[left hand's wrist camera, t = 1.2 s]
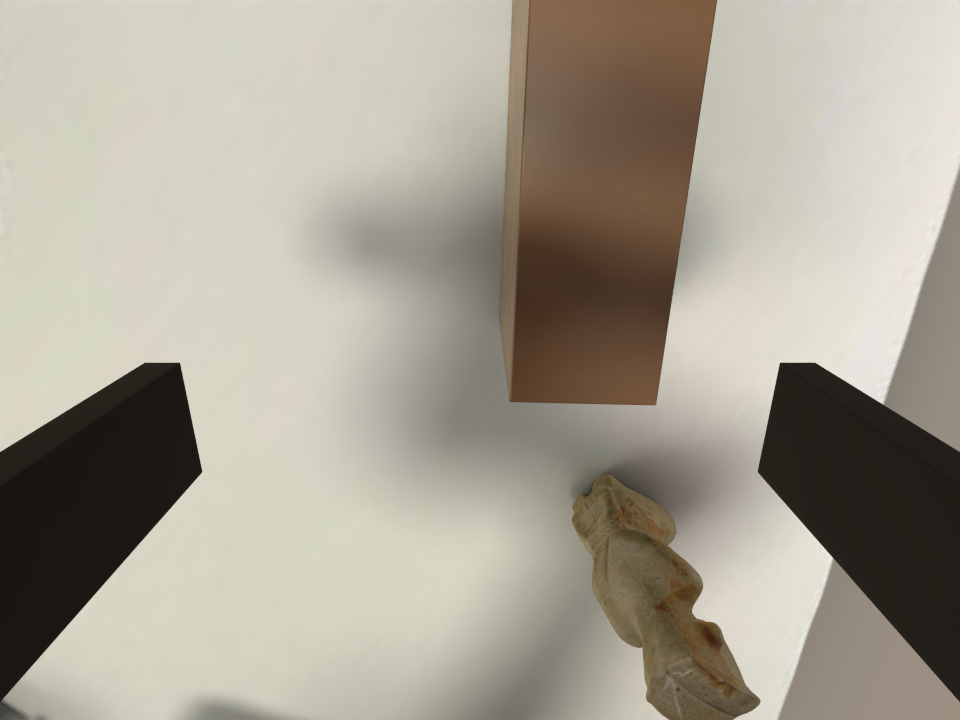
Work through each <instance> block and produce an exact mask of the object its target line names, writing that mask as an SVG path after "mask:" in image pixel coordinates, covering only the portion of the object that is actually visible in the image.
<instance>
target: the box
mask: <svg viewBox="0 0 960 720" xmlns="http://www.w3.org/2000/svg"><path fill="white" fill-rule="evenodd" d="M716 4H717V0H513V3H512V28H511V52H510V77H509V102H508V127H507V152H506V176H505V201H504V226H503V251H502V276H501V300H500V330H501V338H502V346H503V353H504V361H505V369H506V377H507V385H508V393H509V400H510V402H535V403H578V404H621V405H656V401H657V394H658V388H659V381H660V375H661V368H662V361H663V355H664V348H665V341H666V335H667V328H668V322H669V315H670V308H671V302H672V295H673V289H674V282H675V275H676V269H677V262H678V255H679V249H680V242H681V236H682V229H683V222H684V216H685V209H686V203H687V196H688V189H689V183H690V176H691V169H692V163H693V156H694V150H695V143H696V136H697V130H698V123H699V117H700V110H701V103H702V97H703V90H704V84H705V77H706V70H707V64H708V57H709V50H710V44H711V37H712V31H713V24H714V17H715V11H716Z"/></svg>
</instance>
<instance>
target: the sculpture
mask: <svg viewBox="0 0 960 720" xmlns="http://www.w3.org/2000/svg"><path fill="white" fill-rule="evenodd" d="M573 510H574V513H575V514H574V516H573V518H572V522H573V525H574V527H575V529H576V531H577V533H578V535H579V537H580V539H581V541H582V542H583V544H584V546H585V547H586V549H587V550H588V552H589V553H590V555H591V556H592V557H593V560H594V566H593V577H592V587H593V590H594V593H595V595H596V597H597V599H598V601H599V603H600V605H601V607H602V608H603V610H604V612H605V614H606V616H607V617H608V619H609V621H610V623H611V624H612V626H613V628H614V629H615V631H616V632H617V634H618V635H619V637H620V638H621V639H622V640H624V641H625V642H626V643H628V644H629V645H632V646H634V647H638V648H641V647H643V659H644V672H645V682H646V685H647V688H648V689H647V693H646V699H647V701H648V702H649V703H651V704H652V705H653V706H654V707H655V709H656V710H657V711H658V712H660V713H661V714H662V715H663V716H665V717H666V718H667V719H669V720H733V719H735V718H736V717H738V716H740V715H743V714H746V713H748V712H750V711H752V710H753V709H755V708H756V707H757V706H758V705H759V704H760V699H759V698H758V697H757V696H756V695H755V694H754V693H753V692H751V691H750V690H749V688H748V687H747V686H746V685H745V683H744V680H743V678H742V675H741V672H740V670H739V668H738V666H737V664H736V662H735V659H734V657H733V655H732V653H731V651H730V650H729V648H728V646H727V644H726V642H725V640H724V638H723V634H722V631H721V629H720V628H719V626H718V625H717V624H715V623H713V622H705V621H703V620H700V619H697V618H695V617H694V615H693V614H692V608H693V605H694V603H695V602H696V600H697V599H698V597H699V595H700V594H701V592H702V589H703V582H702V579H701V577H700V575H699V574H698V573H697V572H696V570H695V569H694V568H693V567H692V566H691V565H690V564H689V563H687V562H686V561H685V560H684V559H683V558H682V557H680V556H679V555H678V554H676V553H675V552H674V551H673V550H672V549H671V548H670V547H669V546H667V545H668V544H669V543H670V542H672V540H673V539H674V537H675V535H676V528H675V524H674V521H673V519H672V518H671V516H670V515H669V513H668V512H667V511H666V510H665V509H664V508H663V507H662V506H660V505H659V504H658V503H656V502H654V501H653V500H651V499H649V498H647V497H645V496H644V495H642V494H640V493H638V492H636V491H633V490H631V489H629V488H627V487H626V486H624V485H623V484H621V483H620V482H619V481H617V480H616V478H615V477H614V476H612V475H610V474H607V473H605V474H603V475H602V476H600V477H599V478H598V479H597V480H596V481H595V482H594V483H593V486H592V491H591V493H590V494H589V495H588V494H582V495H580V496H579V497H578V498H577V500H576V501H575V502H574V504H573Z"/></svg>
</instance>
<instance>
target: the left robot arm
mask: <svg viewBox="0 0 960 720" xmlns="http://www.w3.org/2000/svg"><path fill="white" fill-rule="evenodd" d="M201 473H202V468H201V463H200V458H199V454H198V449H197V444H196V439H195V434H194V429H193V424H192V419H191V415H190V410H189V405H188V400H187V395H186V390H185V385H184V380H183V376H182V371H181V366H180V363H144V364H142V365H141V366H139V367H137V368H136V369H134V370H133V371H131V372H129V373H128V374H126V375H124V376H123V377H121V378H120V379H118V380H116V381H115V382H113V383H111V384H110V385H108V386H107V387H105V388H103V389H102V390H100V391H98V392H97V393H95V394H94V395H92V396H90V397H89V398H87V399H86V400H84V401H82V402H81V403H79V404H77V405H76V406H74V407H73V408H71V409H69V410H68V411H66V412H64V413H63V414H61V415H60V416H58V417H56V418H55V419H53V420H51V421H50V422H48V423H47V424H45V425H43V426H42V427H40V428H39V429H37V430H35V431H34V432H32V433H30V434H29V435H27V436H26V437H24V438H22V439H21V440H19V441H17V442H16V443H14V444H13V445H11V446H9V447H8V448H6V449H5V450H3V451H1V452H0V702H1V700H2V699H3V698H4V697H5V696H6V695H7V694H8V692H9V691H10V690H11V689H12V688H13V687H14V686H15V684H16V683H17V682H18V681H19V680H20V679H21V678H22V677H23V675H24V674H25V673H26V672H27V671H28V670H29V669H30V667H31V666H32V665H33V664H34V663H35V662H36V661H37V659H38V658H39V657H40V656H41V655H42V654H43V653H44V651H45V650H46V649H47V648H48V647H49V646H50V645H51V644H52V642H53V641H54V640H55V639H56V638H57V637H58V636H59V634H60V633H61V632H62V631H63V630H64V629H65V628H66V626H67V625H68V624H69V623H70V622H71V621H72V620H73V618H74V617H75V616H76V615H77V614H78V613H79V612H80V611H81V609H82V608H83V607H84V606H85V605H86V604H87V603H88V601H89V600H90V599H91V598H92V597H93V596H94V595H95V593H96V592H97V591H98V590H99V589H100V588H101V587H102V585H103V584H104V583H105V582H106V581H107V580H108V579H109V578H110V576H111V575H112V574H113V573H114V572H115V571H116V570H117V568H118V567H119V566H120V565H121V564H122V563H123V562H124V560H125V559H126V558H127V557H128V556H129V555H130V554H131V552H132V551H133V550H134V549H135V548H136V547H137V546H138V545H139V543H140V542H141V541H142V540H143V539H144V538H145V537H146V535H147V534H148V533H149V532H150V531H151V530H152V529H153V527H154V526H155V525H156V524H157V523H158V522H159V521H160V520H161V518H162V517H163V516H164V515H165V514H166V513H167V512H168V510H169V509H170V508H171V507H172V506H173V505H174V504H175V502H176V501H177V500H178V499H179V498H180V497H181V496H182V494H183V493H184V492H185V491H186V490H187V489H188V488H189V487H190V485H191V484H192V483H193V482H194V481H195V480H196V479H197V477H198V476H199V475H200V474H201ZM758 473H759V474H760V475H761V476H762V477H763V479H764V480H765V481H766V482H767V483H768V484H769V485H770V487H771V488H772V489H773V490H774V491H775V492H776V493H777V494H778V496H779V497H780V498H781V499H782V500H783V501H784V502H785V504H786V505H787V506H788V507H789V508H790V509H791V510H792V512H793V513H794V514H795V515H796V516H797V517H798V518H799V520H800V521H801V522H802V523H803V524H804V525H805V526H806V527H807V529H808V530H809V531H810V532H811V533H812V534H813V535H814V537H815V538H816V539H817V540H818V541H819V542H820V543H821V545H822V546H823V547H824V548H825V549H826V550H827V551H828V552H829V554H830V555H831V556H832V557H833V558H834V559H835V560H836V562H837V563H838V564H839V565H840V566H841V567H842V568H843V570H844V571H845V572H846V573H847V574H848V575H849V576H850V577H851V579H852V580H853V581H854V582H855V583H856V584H857V585H858V587H859V588H860V589H861V590H862V591H863V592H864V593H865V595H866V596H867V597H868V598H869V599H870V600H871V601H872V603H873V604H874V605H875V606H876V607H877V608H878V609H879V611H880V612H881V613H882V614H883V615H884V616H885V617H886V618H887V620H888V621H889V622H890V623H891V624H892V625H893V626H894V628H895V629H896V630H897V631H898V632H899V633H900V634H901V636H902V637H903V638H904V639H905V640H906V641H907V642H908V643H909V645H910V646H911V647H912V648H913V649H914V650H915V651H916V653H917V654H918V655H919V656H920V657H921V658H922V659H923V661H924V662H925V663H926V664H927V665H928V666H929V667H930V669H931V670H932V671H933V672H934V673H935V674H936V675H937V677H938V678H939V679H940V680H941V681H942V682H943V683H944V684H945V686H946V687H947V688H948V689H949V690H950V691H951V692H952V694H953V695H954V696H955V697H956V698H957V699H958V700H959V701H960V452H959V451H957V450H955V449H954V448H952V447H951V446H949V445H947V444H946V443H944V442H943V441H941V440H939V439H938V438H936V437H934V436H933V435H931V434H929V433H928V432H926V431H925V430H923V429H921V428H920V427H918V426H917V425H915V424H913V423H912V422H910V421H908V420H907V419H905V418H904V417H902V416H900V415H899V414H897V413H896V412H894V411H892V410H891V409H889V408H887V407H886V406H884V405H883V404H881V403H879V402H878V401H876V400H874V399H873V398H871V397H870V396H868V395H866V394H865V393H863V392H862V391H860V390H858V389H857V388H855V387H853V386H852V385H850V384H849V383H847V382H845V381H844V380H842V379H840V378H839V377H837V376H836V375H834V374H832V373H831V372H829V371H827V370H826V369H824V368H823V367H821V366H819V365H818V364H816V363H780V366H779V371H778V376H777V380H776V385H775V390H774V395H773V400H772V405H771V410H770V415H769V419H768V424H767V429H766V434H765V439H764V444H763V449H762V454H761V458H760V463H759V468H758Z"/></svg>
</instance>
